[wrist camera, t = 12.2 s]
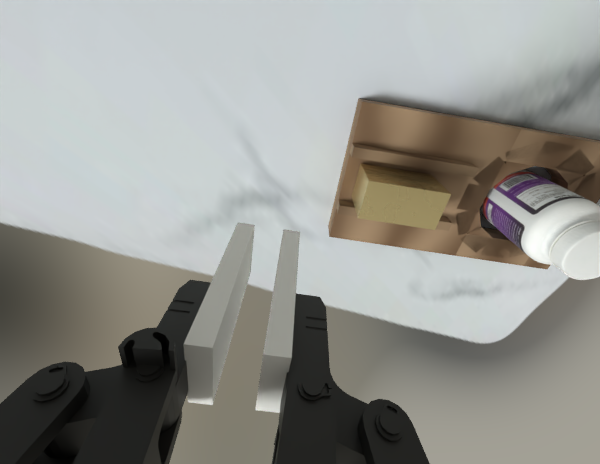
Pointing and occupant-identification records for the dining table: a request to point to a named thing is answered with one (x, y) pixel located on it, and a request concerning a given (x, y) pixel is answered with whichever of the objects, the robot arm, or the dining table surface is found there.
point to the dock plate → (455, 175)
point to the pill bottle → (547, 223)
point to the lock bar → (399, 197)
